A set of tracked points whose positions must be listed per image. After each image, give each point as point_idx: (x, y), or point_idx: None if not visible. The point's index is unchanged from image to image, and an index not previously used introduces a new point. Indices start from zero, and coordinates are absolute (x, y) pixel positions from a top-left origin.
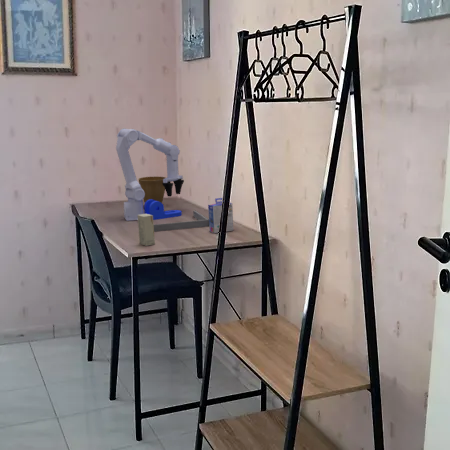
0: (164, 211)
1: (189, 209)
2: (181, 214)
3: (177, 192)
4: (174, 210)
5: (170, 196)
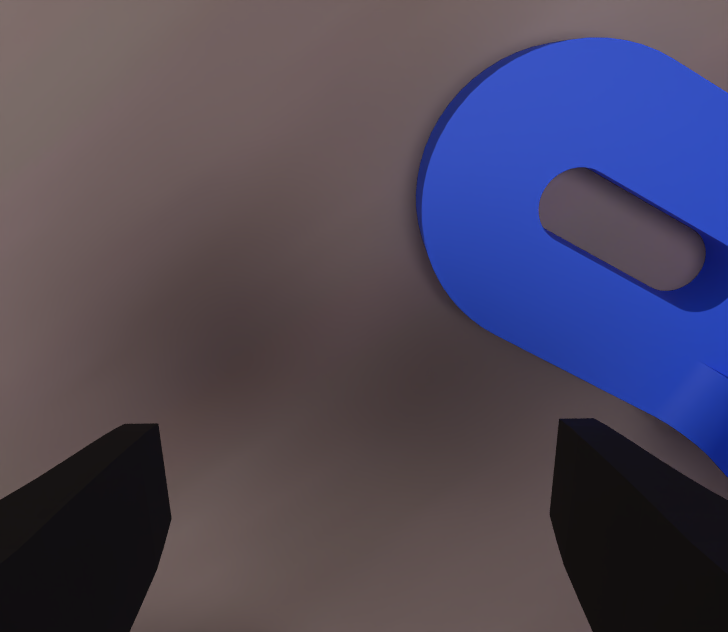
0: (607, 358)
1: (12, 241)
2: (514, 54)
3: (153, 507)
4: (471, 251)
5: (599, 424)
